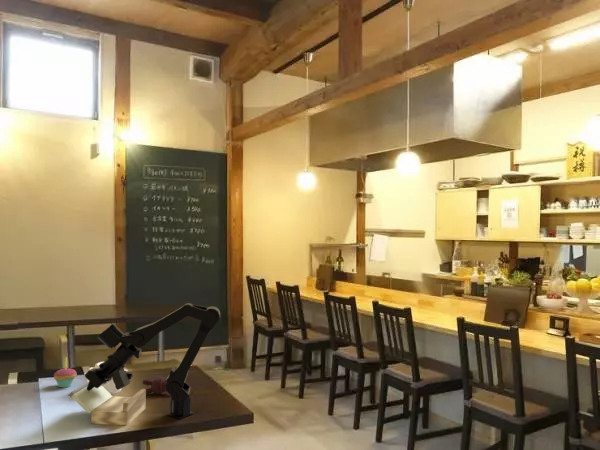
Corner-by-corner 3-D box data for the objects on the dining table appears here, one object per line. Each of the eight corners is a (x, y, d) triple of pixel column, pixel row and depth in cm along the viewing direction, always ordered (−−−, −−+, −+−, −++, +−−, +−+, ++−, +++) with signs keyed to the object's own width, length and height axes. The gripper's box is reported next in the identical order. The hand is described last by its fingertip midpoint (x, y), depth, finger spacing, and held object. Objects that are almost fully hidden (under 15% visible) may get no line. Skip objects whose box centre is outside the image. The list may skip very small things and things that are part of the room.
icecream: (182, 375, 201) (145, 377, 201) (178, 375, 194) (139, 378, 194) (183, 393, 199) (145, 396, 199) (178, 394, 192) (139, 397, 192)
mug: (81, 394, 194) (82, 367, 195) (90, 387, 204) (90, 360, 205) (117, 394, 196) (118, 366, 196) (124, 386, 206) (125, 360, 206)
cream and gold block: (145, 408, 179) (145, 389, 180) (127, 425, 163) (127, 403, 164) (112, 407, 180) (113, 387, 180) (91, 423, 164) (91, 401, 164)
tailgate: (113, 395, 180) (95, 378, 181) (91, 411, 164) (71, 391, 165) (110, 399, 180) (92, 381, 181) (88, 414, 164) (68, 395, 165)
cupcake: (53, 384, 207) (54, 355, 208) (76, 382, 211) (77, 353, 211) (53, 390, 200) (54, 359, 200) (76, 387, 203) (77, 357, 204)
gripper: (124, 382, 162) (91, 416, 163) (145, 367, 181) (115, 398, 181) (101, 357, 163) (67, 391, 163) (124, 345, 182) (94, 376, 182)
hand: (88, 389), depth 173 cm, fingers closed, pressing on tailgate
